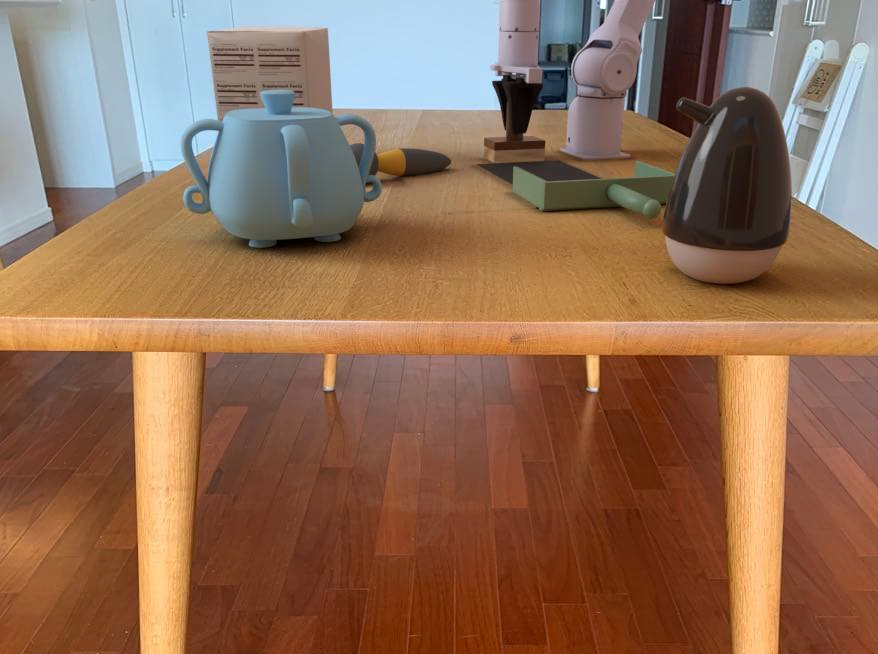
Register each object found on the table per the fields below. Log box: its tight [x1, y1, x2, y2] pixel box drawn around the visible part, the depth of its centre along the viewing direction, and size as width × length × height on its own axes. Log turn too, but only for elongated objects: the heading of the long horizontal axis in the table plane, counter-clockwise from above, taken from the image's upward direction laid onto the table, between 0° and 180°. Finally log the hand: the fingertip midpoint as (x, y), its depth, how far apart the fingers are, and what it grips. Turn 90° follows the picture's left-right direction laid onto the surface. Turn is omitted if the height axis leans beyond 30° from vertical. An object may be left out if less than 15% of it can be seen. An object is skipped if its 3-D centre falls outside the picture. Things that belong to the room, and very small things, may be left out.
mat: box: [476, 160, 602, 186], centre depth 112 cm, size 18×13×1 cm
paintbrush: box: [349, 142, 452, 177], centre depth 108 cm, size 20×5×5 cm, turn 134°
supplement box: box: [206, 26, 334, 122], centre depth 116 cm, size 17×13×18 cm
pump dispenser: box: [661, 86, 793, 285], centre depth 66 cm, size 10×10×15 cm
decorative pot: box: [180, 90, 383, 249], centre depth 79 cm, size 16×16×14 cm
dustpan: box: [512, 160, 676, 220], centre depth 93 cm, size 20×17×3 cm
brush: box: [483, 102, 546, 163], centre depth 120 cm, size 5×8×8 cm, turn 107°
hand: (515, 131), depth 120 cm, fingers closed on brush, 3 cm apart
